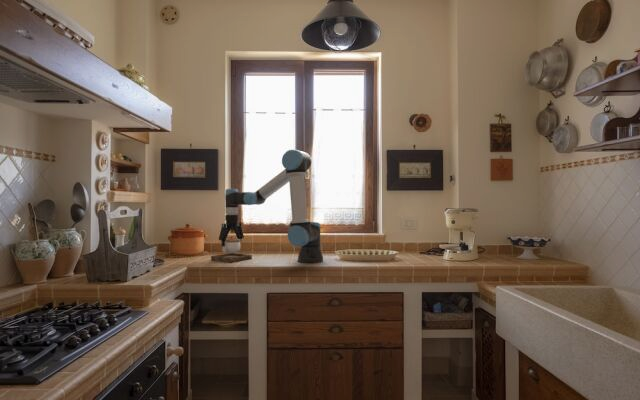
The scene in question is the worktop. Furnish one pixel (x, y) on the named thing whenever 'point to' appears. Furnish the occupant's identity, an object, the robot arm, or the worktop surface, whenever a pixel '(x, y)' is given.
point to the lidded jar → (232, 245)
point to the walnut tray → (231, 257)
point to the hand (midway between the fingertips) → (231, 250)
